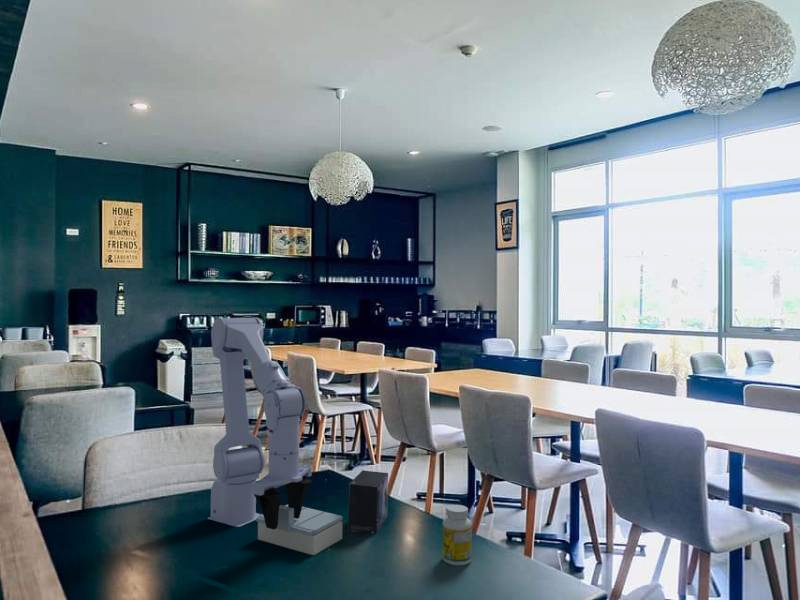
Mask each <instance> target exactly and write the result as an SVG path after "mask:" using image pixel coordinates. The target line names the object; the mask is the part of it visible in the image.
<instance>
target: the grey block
mask: <svg viewBox="0 0 800 600" xmlns="http://www.w3.org/2000/svg"><path fill="white" fill-rule="evenodd" d="M257 540H258V541H262V542H266V543H268V544H273V545H276V546H280V547H284V548H286V549H289V550H294V551H297V552H301V553H304V554H307V555H311V556H314V555H315V556H316V555H317V554H318V553H320V552H322V551H323V550H325V549H327V548H329V547H330V546H332V545H334V544H336V543H339V542H340V541H341V540H343V520H341V521H339V522H337V523H335V524H333V525H331V526H329V527H328V528H326V529H324V530H322V531H320V532H318V533H316V534H314V535H312V536H309V535H305V534H301V533H298V532H294V531H289V532H288V531H284V530H280V529H275V530H273V529H270V528H267V527H266V524H264V523H260V522H257Z"/></svg>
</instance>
